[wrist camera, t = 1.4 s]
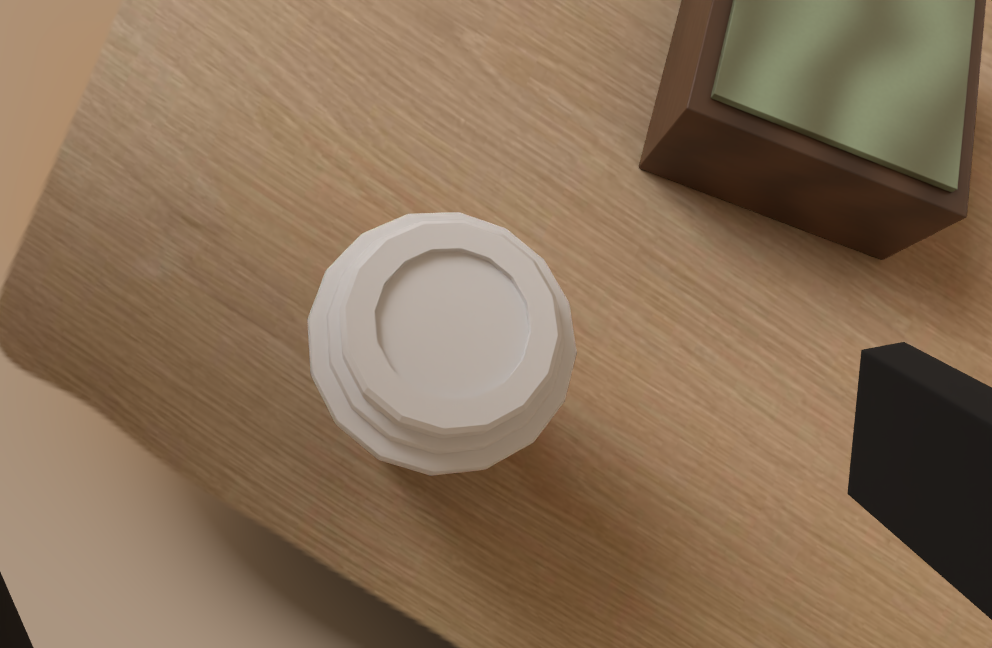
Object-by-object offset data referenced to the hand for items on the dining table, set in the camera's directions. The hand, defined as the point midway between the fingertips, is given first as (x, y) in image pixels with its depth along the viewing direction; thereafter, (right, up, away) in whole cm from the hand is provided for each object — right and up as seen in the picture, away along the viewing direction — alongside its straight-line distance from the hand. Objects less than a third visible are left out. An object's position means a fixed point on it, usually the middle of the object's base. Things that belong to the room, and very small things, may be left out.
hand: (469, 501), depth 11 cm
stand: (+17, +15, +32) cm, 39 cm away
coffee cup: (-3, -1, +23) cm, 24 cm away
